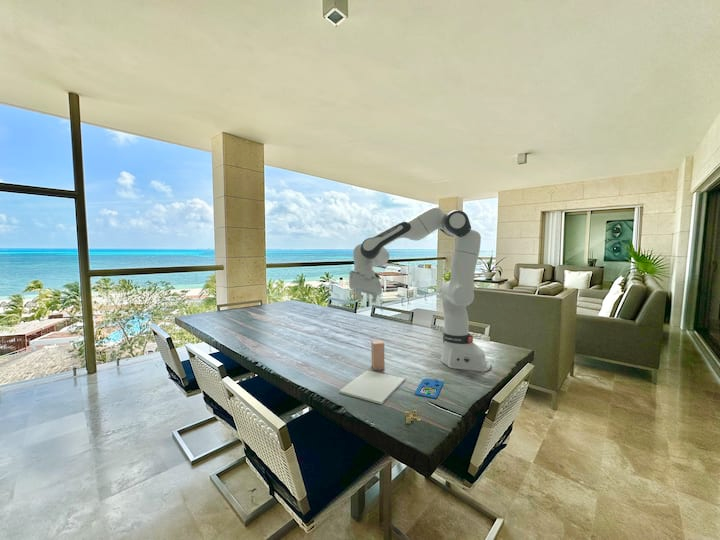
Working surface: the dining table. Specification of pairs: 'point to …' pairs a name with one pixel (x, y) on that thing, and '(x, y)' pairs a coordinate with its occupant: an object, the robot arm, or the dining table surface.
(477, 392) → the dining table surface
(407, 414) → the popcorn pieces
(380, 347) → the terracotta block
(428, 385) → the handheld gaming device
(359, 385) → the white mat
